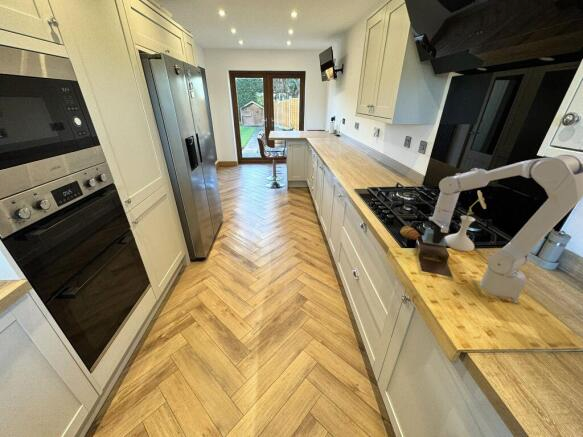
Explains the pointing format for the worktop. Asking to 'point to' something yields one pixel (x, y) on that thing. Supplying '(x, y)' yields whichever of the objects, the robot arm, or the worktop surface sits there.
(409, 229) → the pastry
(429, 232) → the blue-grey block
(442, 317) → the worktop surface
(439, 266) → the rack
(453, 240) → the flower in vase
